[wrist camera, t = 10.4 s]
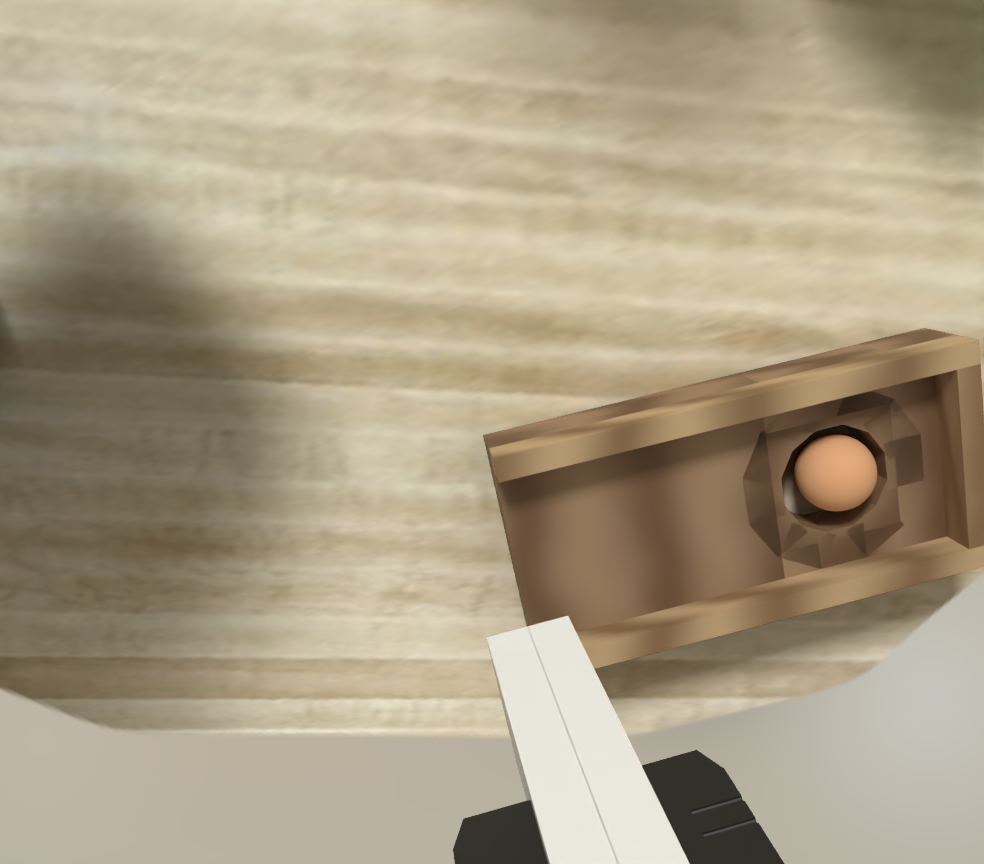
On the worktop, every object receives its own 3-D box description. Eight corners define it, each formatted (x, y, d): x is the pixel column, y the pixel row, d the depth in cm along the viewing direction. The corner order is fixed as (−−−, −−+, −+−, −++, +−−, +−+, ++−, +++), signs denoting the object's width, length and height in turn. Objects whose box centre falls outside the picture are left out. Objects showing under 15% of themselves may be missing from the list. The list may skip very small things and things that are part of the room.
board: (530, 640, 47) (544, 682, 42) (483, 435, 43) (493, 458, 39) (940, 534, 48) (992, 564, 44) (924, 328, 45) (978, 339, 41)
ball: (799, 527, 45) (833, 510, 41) (771, 458, 46) (801, 434, 42) (866, 507, 46) (905, 488, 42) (837, 439, 47) (872, 415, 43)
